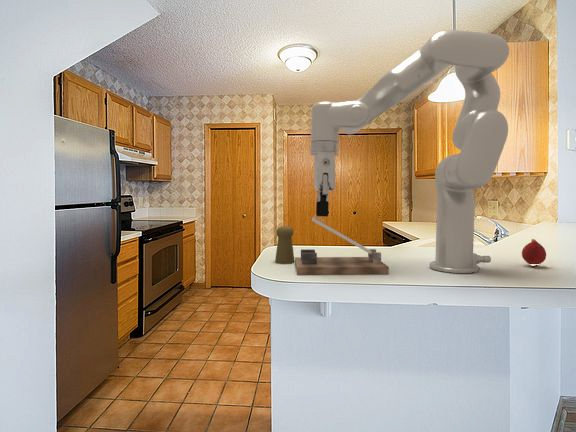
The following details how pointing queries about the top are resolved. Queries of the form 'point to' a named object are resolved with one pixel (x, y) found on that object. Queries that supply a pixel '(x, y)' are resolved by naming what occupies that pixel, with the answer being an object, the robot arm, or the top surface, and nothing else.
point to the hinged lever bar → (321, 223)
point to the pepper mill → (284, 246)
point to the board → (339, 264)
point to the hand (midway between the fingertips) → (322, 216)
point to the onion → (534, 253)
